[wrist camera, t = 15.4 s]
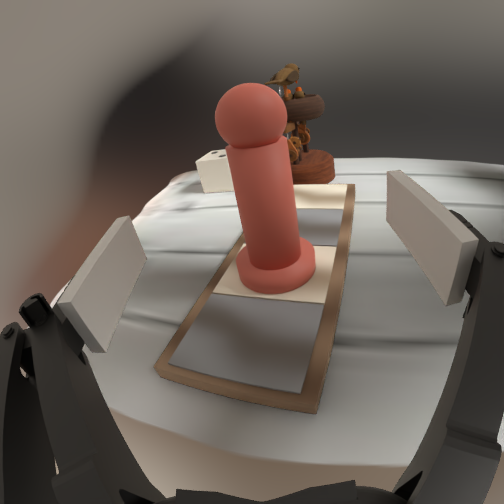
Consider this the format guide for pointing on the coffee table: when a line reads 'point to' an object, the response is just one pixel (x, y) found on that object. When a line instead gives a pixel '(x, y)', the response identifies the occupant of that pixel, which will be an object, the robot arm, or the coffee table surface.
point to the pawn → (264, 190)
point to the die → (215, 172)
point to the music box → (303, 131)
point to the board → (270, 318)
